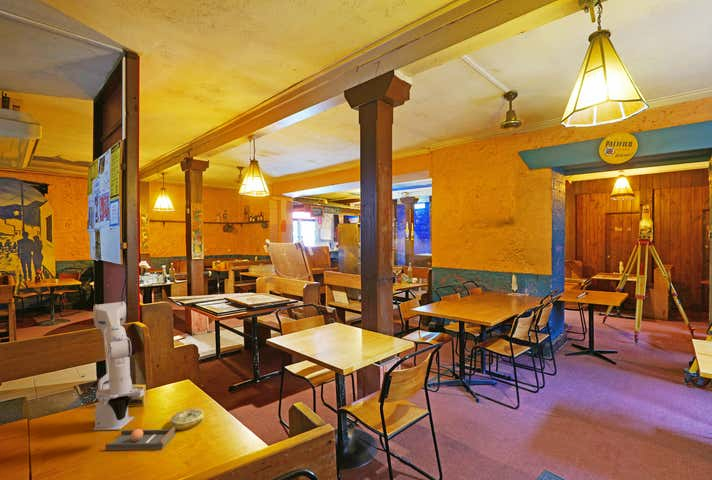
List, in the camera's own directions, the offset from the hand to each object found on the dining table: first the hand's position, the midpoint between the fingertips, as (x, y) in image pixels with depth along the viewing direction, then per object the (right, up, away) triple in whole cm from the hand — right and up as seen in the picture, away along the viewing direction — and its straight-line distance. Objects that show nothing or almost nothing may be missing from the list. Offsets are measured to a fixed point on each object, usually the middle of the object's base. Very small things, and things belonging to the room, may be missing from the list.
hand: (121, 418), depth 113 cm
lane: (+7, -8, 0) cm, 10 cm away
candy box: (-15, -8, +25) cm, 31 cm away
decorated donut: (+16, -8, +11) cm, 21 cm away
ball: (+5, -6, 0) cm, 8 cm away
